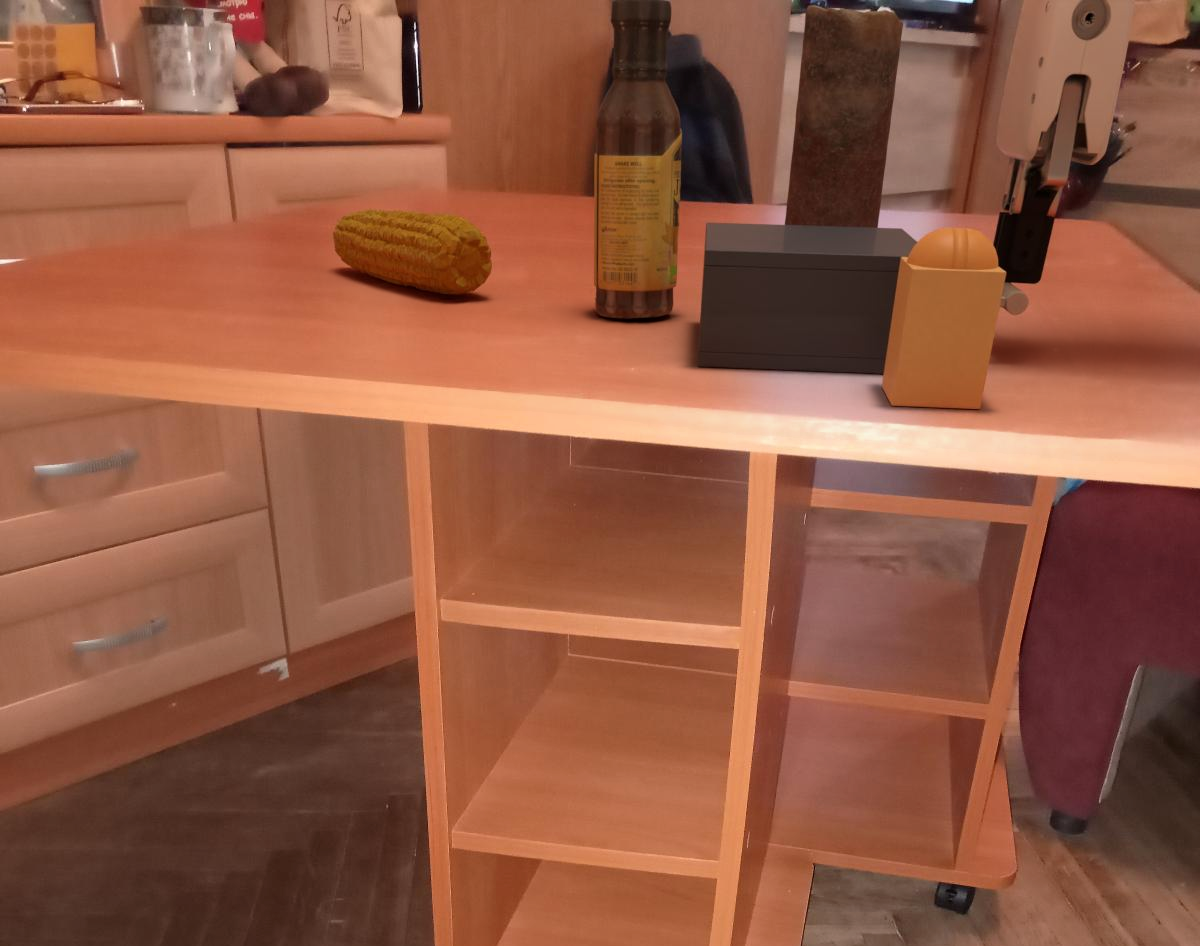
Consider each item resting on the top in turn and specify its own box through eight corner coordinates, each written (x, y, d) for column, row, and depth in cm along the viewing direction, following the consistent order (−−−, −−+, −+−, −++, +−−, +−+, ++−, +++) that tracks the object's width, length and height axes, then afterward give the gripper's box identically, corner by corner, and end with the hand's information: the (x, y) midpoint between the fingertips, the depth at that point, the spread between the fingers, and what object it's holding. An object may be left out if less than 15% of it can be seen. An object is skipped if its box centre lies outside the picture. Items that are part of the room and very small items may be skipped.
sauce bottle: (687, 320, 86) (705, -3, 76) (609, 324, 84) (617, -6, 74) (654, 305, 91) (667, 1, 81) (580, 309, 89) (583, -2, 79)
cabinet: (887, 331, 84) (902, 228, 81) (916, 375, 72) (935, 257, 69) (699, 324, 85) (706, 222, 82) (697, 366, 73) (705, 249, 70)
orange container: (965, 390, 69) (995, 224, 64) (980, 409, 65) (1014, 234, 61) (881, 387, 70) (905, 221, 65) (891, 405, 66) (918, 231, 61)
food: (504, 298, 93) (502, 216, 89) (446, 306, 90) (441, 221, 86) (366, 265, 106) (360, 192, 103) (311, 270, 103) (303, 195, 99)
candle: (793, 292, 98) (822, 8, 87) (878, 300, 95) (919, 8, 84) (764, 306, 92) (791, 3, 81) (853, 315, 90) (893, 3, 79)
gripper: (1197, -70, 60) (1101, 304, 70) (1114, -48, 73) (1042, 267, 83) (1053, -76, 61) (977, 297, 71) (995, -53, 73) (937, 261, 83)
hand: (1012, 280), depth 77 cm, fingers closed
